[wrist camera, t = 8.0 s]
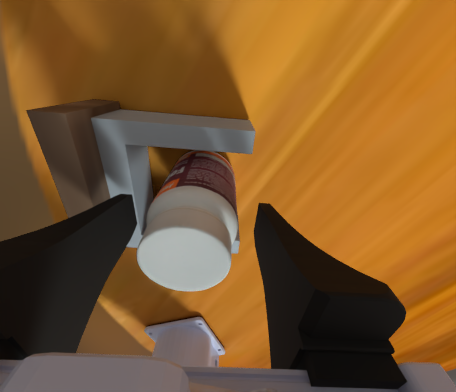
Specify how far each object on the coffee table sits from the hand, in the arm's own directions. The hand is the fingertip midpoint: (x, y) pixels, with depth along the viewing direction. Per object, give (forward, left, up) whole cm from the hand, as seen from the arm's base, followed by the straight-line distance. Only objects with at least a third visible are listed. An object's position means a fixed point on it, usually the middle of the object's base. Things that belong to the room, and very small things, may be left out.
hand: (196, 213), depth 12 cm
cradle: (+1, +1, -5) cm, 5 cm away
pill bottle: (0, 0, -5) cm, 5 cm away
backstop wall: (+3, +6, -5) cm, 8 cm away
